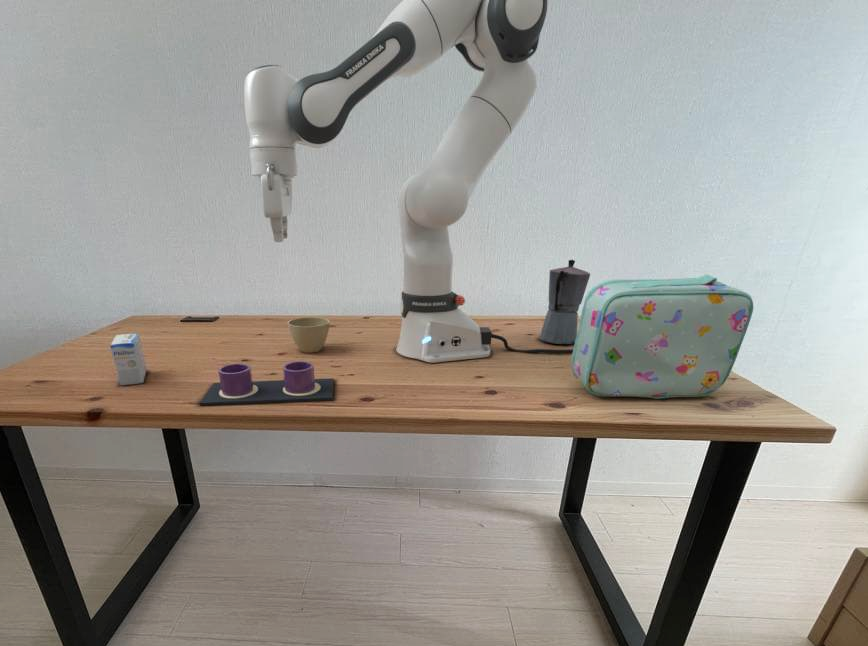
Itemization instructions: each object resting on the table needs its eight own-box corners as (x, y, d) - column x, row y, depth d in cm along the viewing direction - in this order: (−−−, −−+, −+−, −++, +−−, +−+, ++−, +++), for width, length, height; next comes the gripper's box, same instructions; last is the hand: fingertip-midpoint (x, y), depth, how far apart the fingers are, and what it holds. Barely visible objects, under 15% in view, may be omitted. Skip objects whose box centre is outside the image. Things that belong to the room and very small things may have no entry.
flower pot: (313, 358, 106) (311, 328, 103) (281, 352, 111) (278, 323, 108) (339, 347, 114) (337, 319, 111) (308, 342, 119) (306, 315, 116)
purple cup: (316, 382, 91) (314, 360, 89) (314, 393, 85) (312, 370, 84) (286, 383, 90) (284, 361, 88) (283, 394, 85) (280, 371, 83)
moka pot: (583, 336, 120) (597, 258, 112) (571, 352, 108) (585, 265, 100) (546, 332, 125) (557, 256, 117) (530, 346, 113) (541, 262, 105)
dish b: (255, 384, 90) (252, 362, 88) (250, 395, 85) (247, 373, 83) (226, 385, 89) (222, 363, 88) (218, 397, 84) (214, 374, 82)
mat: (333, 380, 93) (333, 377, 93) (332, 400, 84) (332, 396, 84) (214, 385, 92) (213, 382, 91) (199, 405, 82) (199, 402, 82)
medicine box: (124, 373, 98) (115, 334, 95) (147, 371, 100) (138, 332, 96) (120, 386, 92) (109, 344, 88) (144, 383, 93) (134, 342, 90)
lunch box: (696, 380, 91) (729, 269, 82) (733, 400, 81) (774, 278, 73) (563, 381, 91) (581, 271, 82) (584, 402, 82) (607, 280, 73)
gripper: (285, 162, 81) (292, 244, 87) (294, 169, 100) (299, 236, 105) (249, 162, 81) (259, 244, 86) (265, 169, 99) (272, 236, 105)
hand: (281, 240), depth 96 cm, fingers open, 8 cm apart
